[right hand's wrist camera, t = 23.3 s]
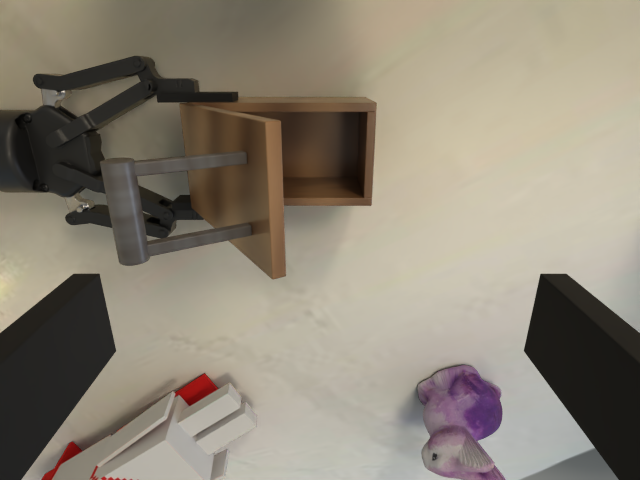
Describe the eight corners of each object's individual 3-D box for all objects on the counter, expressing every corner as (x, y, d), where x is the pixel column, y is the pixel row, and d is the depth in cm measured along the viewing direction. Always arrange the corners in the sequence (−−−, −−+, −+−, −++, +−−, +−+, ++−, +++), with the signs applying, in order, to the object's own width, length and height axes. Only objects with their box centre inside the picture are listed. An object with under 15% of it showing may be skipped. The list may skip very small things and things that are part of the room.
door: (281, 120, 22) (99, 131, 18) (286, 276, 25) (134, 316, 21) (190, 102, 35) (74, 106, 31) (201, 206, 39) (98, 222, 34)
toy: (268, 469, 50) (65, 587, 52) (268, 396, 63) (105, 493, 65) (208, 400, 46) (-9, 530, 48) (221, 338, 59) (49, 443, 61)
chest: (365, 97, 44) (376, 102, 35) (362, 182, 47) (371, 205, 39) (212, 97, 44) (186, 102, 35) (220, 182, 47) (198, 205, 39)
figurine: (399, 400, 58) (425, 502, 45) (446, 349, 55) (489, 442, 41) (452, 428, 60) (492, 535, 46) (500, 380, 57) (558, 479, 43)
